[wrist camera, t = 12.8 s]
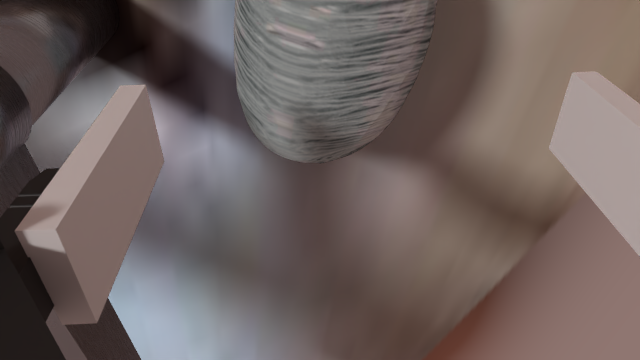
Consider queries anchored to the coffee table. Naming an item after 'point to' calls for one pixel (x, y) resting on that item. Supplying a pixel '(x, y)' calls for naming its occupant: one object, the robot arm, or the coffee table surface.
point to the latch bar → (3, 187)
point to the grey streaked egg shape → (326, 70)
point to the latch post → (52, 43)
